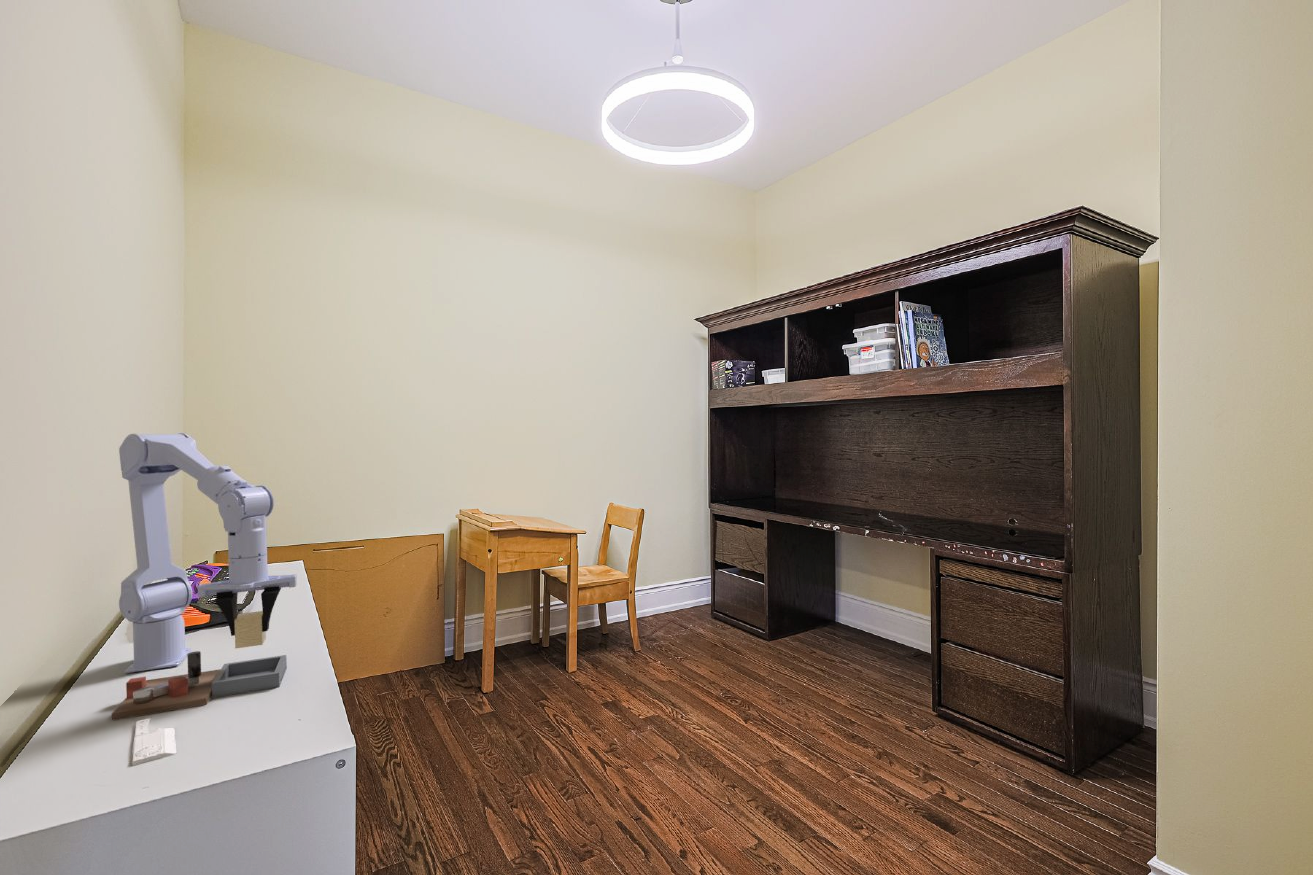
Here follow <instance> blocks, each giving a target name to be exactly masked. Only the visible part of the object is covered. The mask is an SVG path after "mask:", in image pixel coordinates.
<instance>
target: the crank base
mask: <svg viewBox="0 0 1313 875" xmlns="http://www.w3.org/2000/svg"><path fill="white" fill-rule="evenodd" d="M220 670H221V668H220V669H214V670H213V669H212V670H207V671H201V676H199V684H195V685H192V686H189V687H188V678H186V677H188V673H187V674H186V673H185V674H181V675H180V674H179V675H174V676H173V675H172V676H165V677H159V678H152V679H147V677H146V676H139V677H133V678H132V677H131V678H130V679H129V680H128V681H127V682H125V683H126V684H125V688H126V690H125V692H126V698H125V699H124V700H123V701H122V702H121V703H120V704H119V705H118V706H117V708H116V709H115V710H114V711H113V712H112V713H111V721H115V720H122V719H127V718H133V717H140V716H145V715H151V714H158V713H163V712H169V711H170V712H171V711H174V710H175V711H176V710H182V709H187V708H194V707H199V706H206V705H207V704H208V702H209V701H210V699H212V682H213V681H214V679H215V677H216V676H217V674H218V673H219V671H220ZM167 682H168V689H169V693H166V694H162V695H159V696H156V697H154V698H153V699H152V700H150V701H147V702H143V703H133V691H134V690H136V689H139V688H143V687H149V686H152V687H154V686H157V685H160V684H164V683H167Z"/></svg>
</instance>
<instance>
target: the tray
mask: <svg viewBox="0 0 1313 875" xmlns="http://www.w3.org/2000/svg"><path fill="white" fill-rule="evenodd" d="M287 665H288V663H287V654H283V655H277V656H276V655H275V656H271V657H261V658H255V659H249V660H248V659H247V660H242V661H241V660H240V661H233V662H227V663H224V664H223V665H222V667H221V668H220V669H221V670H220V671H219V673H218V674H217V676H216V677H215V679H214V681H213V682H212V697H211V699H213V698H218V697H226V696H231V695H239V694H244V693H249V692H256V691H261V690H269V689H274V688H280V687H281V684H282V680H283V678H284V676H285V673H286V670H287Z"/></svg>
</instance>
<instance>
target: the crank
mask: <svg viewBox="0 0 1313 875" xmlns="http://www.w3.org/2000/svg"><path fill="white" fill-rule="evenodd" d="M186 657H187V674H188V677H186V678H188V687H189V686H192V685H195V684H199V676H201V672H202V653H201V651H199V650H197V651H196V650H195V651H192V652H191V651H190V652H189V653H188V654H187V656H186ZM166 693H169V689H168V682H167V683H164V684H160V685H157V686H154V687H152V686H149V687H143V688H139V689H136V690H134V691H133V703H143V702H147V701H150V700H152V699H153V698H154V697H156V696H159V695H162V694H166Z"/></svg>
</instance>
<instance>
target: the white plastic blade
mask: <svg viewBox="0 0 1313 875" xmlns="http://www.w3.org/2000/svg"><path fill="white" fill-rule="evenodd" d="M150 723H151V718H146V719H145V718H144V719H141V720H137V721H136V722H135V729H134V730H135V731H134V736H133V737H134V739H133V743H132V744H133V745H132V748H133V750H132V753H131V755H132V766H136V765H139V764H144V763H147V762H148V763H149V762H150V761H155V760H158V759H163V758H165V757H170V756H173V755H176V754H177V747H176V746H177V745H176V743H177V742H176V732H175V727H170V728H169V727H167V728H162V727H159V728H157V731H154V732H151V733H150V731H149V730H148V728H149V725H150Z"/></svg>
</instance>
